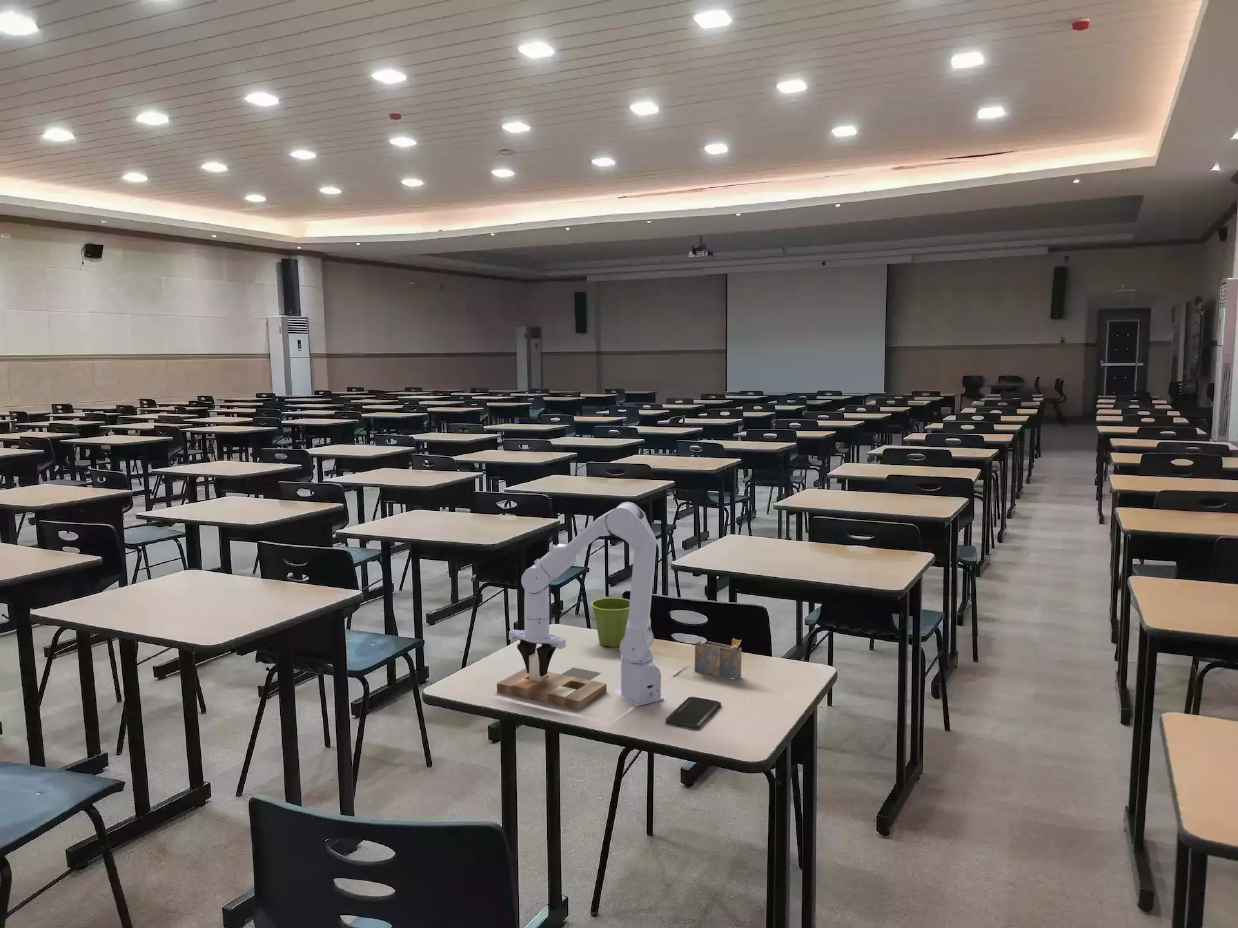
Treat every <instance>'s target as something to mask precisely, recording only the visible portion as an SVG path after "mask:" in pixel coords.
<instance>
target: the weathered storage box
mask: <svg viewBox="0 0 1238 928" xmlns="http://www.w3.org/2000/svg"><path fill="white" fill-rule="evenodd" d="M741 642H742V639H740V640H739V639H735V638H732V639H731V645H729V644H723V643H719V642H715V641H714V642H712V641H707V643H704V642H703V643H702V640H701V639H699V640H697V641H695V643H694V671H695V672H699V673H703V674H707V675H712V676H717V677H720V676H722V677H721V678H725V677H726V679H729V678H734V679H737V678H739V677H740V676H741V677H742V647H739V646H740V645H741ZM741 677H740V678H741ZM740 678H739V679H740ZM734 679H733V680H734ZM737 680H738V679H737Z"/></svg>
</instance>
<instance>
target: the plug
mask: <svg viewBox="0 0 1238 928" xmlns="http://www.w3.org/2000/svg"><path fill="white" fill-rule="evenodd" d="M546 678H547V674H546V675H544V676H540V673H539V658H538V654H537V651H536V652H535V653H533V654H532V655H530V656H529V680H533V681H538V682H541V681H543V680H545V679H546Z"/></svg>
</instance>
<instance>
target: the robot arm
mask: <svg viewBox="0 0 1238 928" xmlns="http://www.w3.org/2000/svg"><path fill="white" fill-rule="evenodd" d="M612 534H613V535H614V536H617V537H618V538H620V539H622V540H624V541H625V542H626V543H628V544H629V546H631V548H632V549H633V551H634V552H633V561H632V571H631V572H632V573H631V584H630V593H629V594H630V596H629V600H630V604H629V616H628V621H627V625H626V630H625V636H624V638H623V640H622V641H621V643H620V647H619V651H620V689H616V690H613V691H612V692H613V693H615V694H616V695H617V696H619V697H621V698H622V699H624V700H626V701H627V702H629V703H631V704H632V706H633V707H640V706H643V705H648V704H651V703H656V702H659V701H664V700H665V698H664V697H663V695H662V694H661V693H662V673H661V670H660V669H659V668H658V667H657V666H656V665H655V664H656V663H654V659H653V658H654V655H653V654H652V652H651V651H652V650H650V648H651V646H652V645H653V643H654V640H655V639H654V633H653V631H652V627H651V624H652V619H651V616H650V615H651V605H652V597H653V595H652V594H653V586H654V575H655V574H654V573H655V562H656V553H657V538H656V536H655V535H656V534H654V531H653V529H652V527H651V526H650V523H649V522H648V519H647V516H646V512H644V511H643V509H641V507H639V506H638V505H637V504H636V503H634V502H631V501H625V502H621V503H620V504H619V505H617V507H616V508H613V509H611V510H609V511H607V512H605V513H604V514H602V515H601V516H598V517H597V518H596V519H595V520H593V522H591V523H590V524H589V525H587V526H586V527H585V528H584V529H583V530H581V532H580V533H579V534H577V535H576V536H575V537H574V538H573V539H572V540H571V541H569V542H568V543H567V544H565V543H558V544H553V545H551V546H550V547H549V548H548V552H547V553H546V554H545V555H543V556H542V557H540V558H537V559H536V560H534V561H533V563H534V564H533V565H531V567H529V568H526V569H525V571H524V572H523V574H522V575H521V579H520V580H521V581H520V582H521V585H522V588H523V589H524V598H523V599H524V608H523V609H524V614H523V615H524V616H523V617H524V630H523V629H521V630H519V629H512V630H509V631H508V640H511V641H514V640H516V641H519V643H518V644H517V645H516V648H517V650H518V651H519V653H520V655H521V656H522V660H523V663H524V665H525V666H524V667H525V668H526V670H527V673H529V656H530V655H532V654H533V653H535V652H537V654H538V658H539V673H540V676H544V675H546V674H547V672H549V666H550V663H551V660H552V658H553V656H554V654H555V651H556V650H557V649H559V650H562V649H564V648H566V646H567V644H566V643H567V642H566V641H567V640H566V638H565V637H564V638H563V637H560V636H557V635H556V634H553V633H550V588H549V587H550V586H549V585H550V584H551V583H552V582H553V581H554V580H556V579H557V578H559V577H560V576H561V575H562V574H563V573H565V571H567V570H568V569H570V567H572V566H573V565H574V564H575V563H576V555H577V554H578V553H580V552H581V551H582V550H584V549H585V548H586V547H587V546H589V545H590V544H591V543H593V542H594V541H596V539H598V538H600V537H605V536H607V537H609V536H611V535H612ZM538 644H539V645H540V646H538V647H537V645H538Z"/></svg>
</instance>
